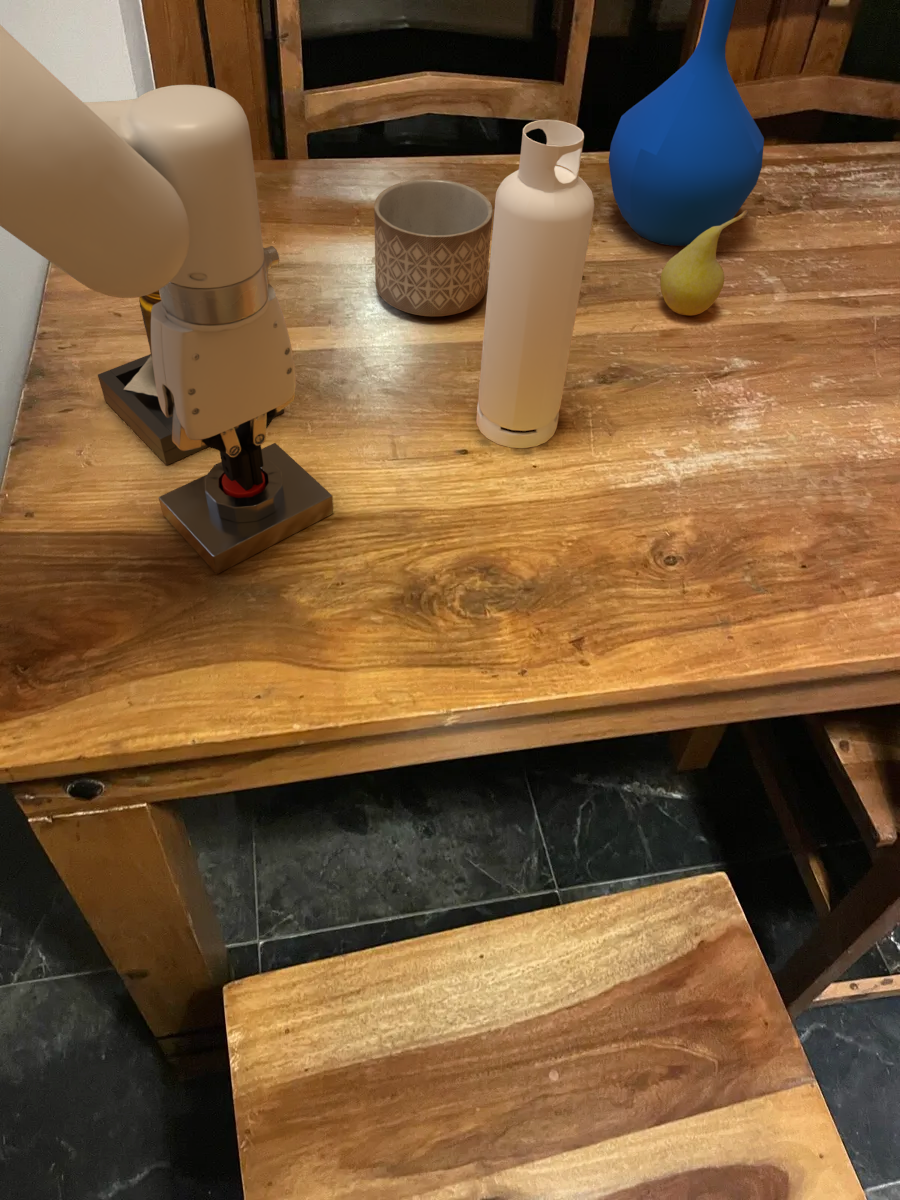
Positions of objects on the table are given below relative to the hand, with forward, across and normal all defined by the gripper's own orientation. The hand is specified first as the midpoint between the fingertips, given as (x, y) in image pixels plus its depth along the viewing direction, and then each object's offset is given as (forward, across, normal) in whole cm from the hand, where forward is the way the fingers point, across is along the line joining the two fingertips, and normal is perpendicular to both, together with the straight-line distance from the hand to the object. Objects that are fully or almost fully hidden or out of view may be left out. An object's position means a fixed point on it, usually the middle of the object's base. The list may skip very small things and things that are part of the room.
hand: (245, 478), depth 80 cm
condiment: (+1, -4, -17) cm, 17 cm away
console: (+4, 0, 0) cm, 4 cm away
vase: (+5, -71, -12) cm, 72 cm away
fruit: (+5, -58, +2) cm, 58 cm away
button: (+2, 0, 0) cm, 2 cm away
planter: (+5, -36, -18) cm, 40 cm away
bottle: (+4, -28, +5) cm, 29 cm away
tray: (+4, -4, -16) cm, 17 cm away
